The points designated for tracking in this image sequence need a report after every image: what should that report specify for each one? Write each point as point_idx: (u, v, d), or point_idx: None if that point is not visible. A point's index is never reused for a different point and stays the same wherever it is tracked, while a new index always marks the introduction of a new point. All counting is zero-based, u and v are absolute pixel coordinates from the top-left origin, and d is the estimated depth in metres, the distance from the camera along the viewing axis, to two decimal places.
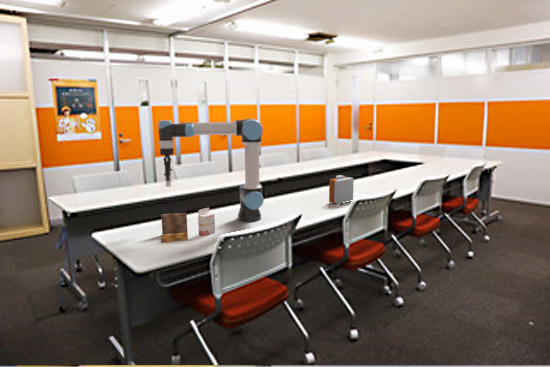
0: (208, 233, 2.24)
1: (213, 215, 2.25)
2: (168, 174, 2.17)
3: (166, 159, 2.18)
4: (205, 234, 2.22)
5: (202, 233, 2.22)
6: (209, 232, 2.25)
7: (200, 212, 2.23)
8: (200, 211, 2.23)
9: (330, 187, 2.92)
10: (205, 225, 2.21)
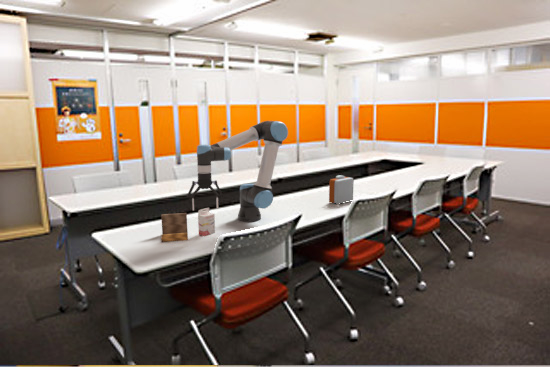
0: (208, 233, 2.24)
1: (213, 215, 2.25)
2: (187, 197, 2.19)
3: (192, 183, 2.19)
4: (205, 234, 2.22)
5: (202, 233, 2.22)
6: (209, 232, 2.25)
7: (200, 212, 2.23)
8: (200, 211, 2.23)
9: (330, 187, 2.92)
10: (205, 225, 2.21)
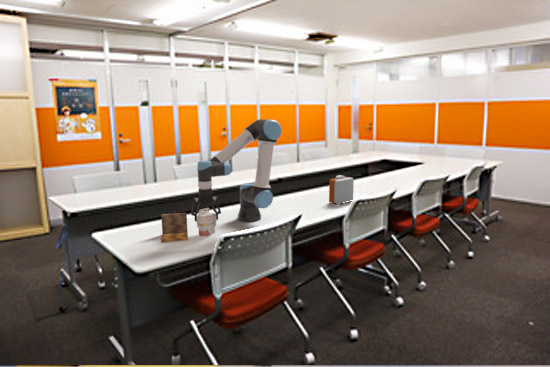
0: (208, 233, 2.24)
1: (213, 215, 2.25)
2: (191, 214, 2.22)
3: None
4: (205, 234, 2.22)
5: (202, 233, 2.22)
6: (209, 232, 2.25)
7: (200, 212, 2.23)
8: (200, 211, 2.23)
9: (330, 187, 2.92)
10: (205, 225, 2.21)
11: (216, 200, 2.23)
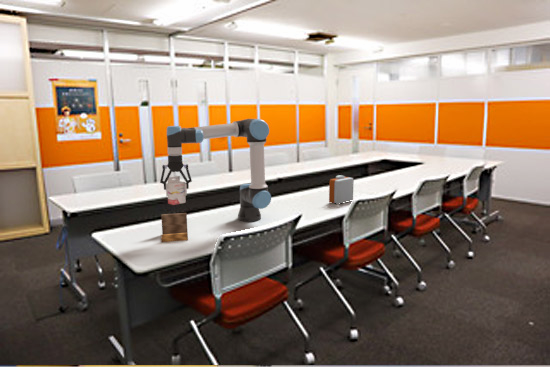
0: (178, 202, 2.15)
1: (183, 183, 2.16)
2: (160, 182, 2.13)
3: None
4: (174, 203, 2.13)
5: (171, 202, 2.13)
6: (179, 202, 2.16)
7: (170, 180, 2.14)
8: (170, 179, 2.14)
9: (330, 187, 2.92)
10: (174, 193, 2.12)
11: (186, 168, 2.14)
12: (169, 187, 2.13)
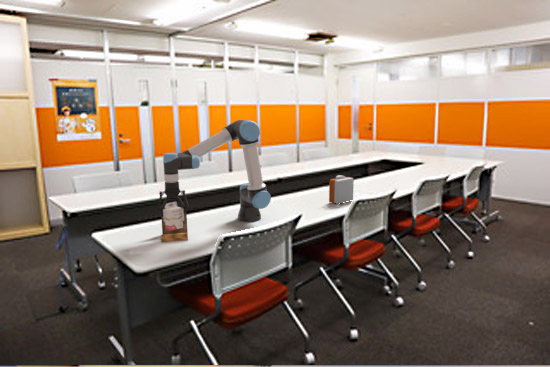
0: (175, 228, 2.17)
1: (180, 209, 2.18)
2: None
3: (159, 193, 2.14)
4: (172, 229, 2.15)
5: (169, 228, 2.15)
6: (176, 227, 2.18)
7: (167, 206, 2.16)
8: (167, 205, 2.16)
9: (330, 187, 2.92)
10: (171, 219, 2.14)
11: (183, 194, 2.16)
12: (166, 213, 2.15)
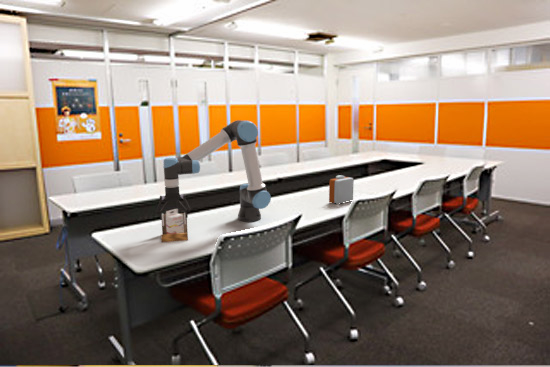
0: None
1: (182, 216, 2.19)
2: None
3: None
4: None
5: None
6: None
7: (168, 213, 2.17)
8: (168, 212, 2.17)
9: (330, 187, 2.92)
10: (172, 226, 2.15)
11: (184, 198, 2.16)
12: (167, 220, 2.16)
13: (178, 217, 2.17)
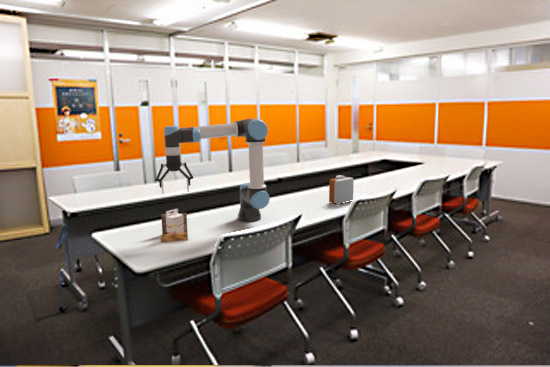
0: None
1: (182, 216, 2.19)
2: (156, 180, 2.15)
3: None
4: None
5: None
6: None
7: (168, 213, 2.17)
8: (168, 212, 2.17)
9: (330, 187, 2.92)
10: (172, 227, 2.15)
11: (185, 166, 2.16)
12: (167, 220, 2.16)
13: (178, 217, 2.17)
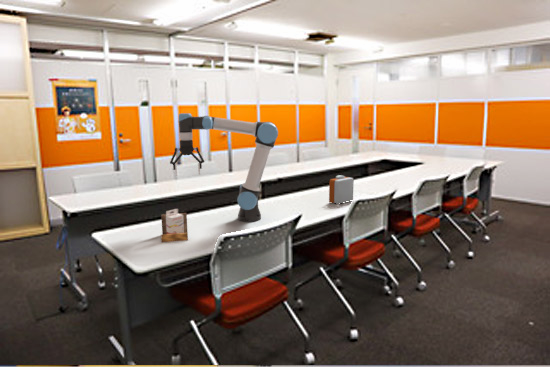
0: None
1: (182, 216, 2.19)
2: (170, 163, 2.33)
3: None
4: None
5: None
6: None
7: (168, 213, 2.17)
8: (168, 212, 2.17)
9: (330, 187, 2.92)
10: (172, 227, 2.15)
11: (197, 150, 2.35)
12: (167, 220, 2.16)
13: (178, 217, 2.17)
